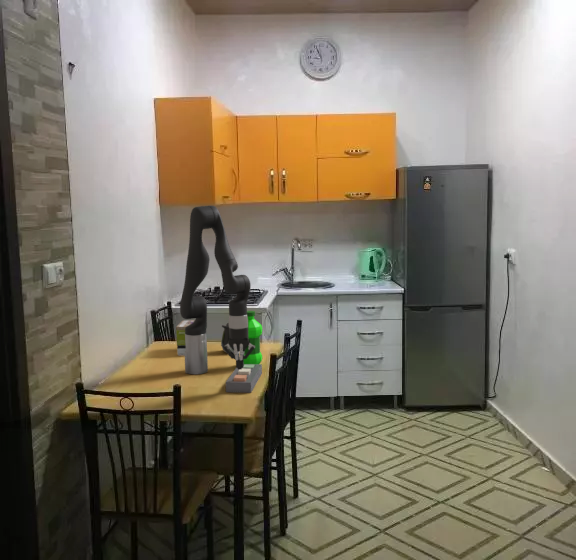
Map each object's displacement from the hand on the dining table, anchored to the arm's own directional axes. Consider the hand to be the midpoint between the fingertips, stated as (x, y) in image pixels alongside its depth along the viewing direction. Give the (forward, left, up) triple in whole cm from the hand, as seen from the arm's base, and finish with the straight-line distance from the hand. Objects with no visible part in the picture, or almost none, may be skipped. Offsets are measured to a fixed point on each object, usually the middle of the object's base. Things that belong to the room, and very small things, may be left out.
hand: (239, 368), depth 239 cm
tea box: (-37, +57, -9) cm, 69 cm away
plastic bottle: (-2, +33, -9) cm, 34 cm away
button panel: (0, +9, -8) cm, 12 cm away
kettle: (-16, +57, -9) cm, 60 cm away
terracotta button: (0, 0, -6) cm, 6 cm away
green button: (0, +18, -7) cm, 19 cm away
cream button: (0, +9, -6) cm, 11 cm away
